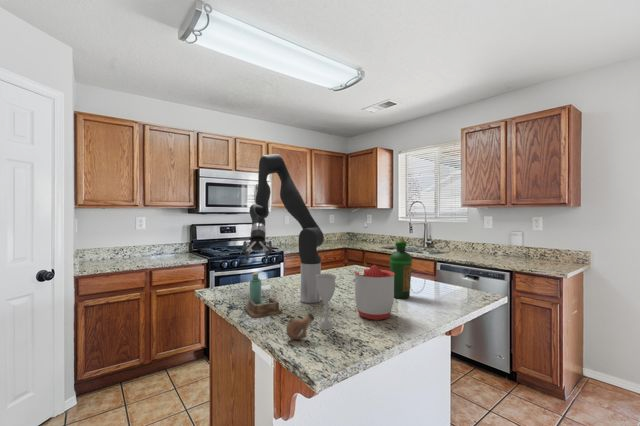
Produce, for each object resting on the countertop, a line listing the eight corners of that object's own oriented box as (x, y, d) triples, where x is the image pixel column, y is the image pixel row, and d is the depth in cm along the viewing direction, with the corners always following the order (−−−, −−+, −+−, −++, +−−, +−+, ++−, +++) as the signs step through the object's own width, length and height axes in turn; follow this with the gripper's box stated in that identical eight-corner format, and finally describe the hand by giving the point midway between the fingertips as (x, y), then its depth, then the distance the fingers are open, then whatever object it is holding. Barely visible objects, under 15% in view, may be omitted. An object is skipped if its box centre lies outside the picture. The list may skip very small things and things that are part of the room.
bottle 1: (262, 300, 143) (262, 272, 143) (259, 304, 138) (259, 274, 138) (251, 300, 143) (252, 271, 143) (248, 303, 138) (248, 273, 138)
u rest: (271, 305, 136) (271, 296, 136) (282, 313, 126) (282, 303, 126) (244, 309, 130) (244, 299, 130) (252, 317, 120) (252, 307, 120)
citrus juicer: (366, 306, 136) (366, 259, 136) (402, 315, 123) (402, 264, 123) (342, 314, 125) (342, 263, 125) (379, 325, 112) (379, 269, 112)
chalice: (338, 324, 113) (338, 274, 113) (333, 331, 107) (333, 278, 107) (319, 322, 115) (319, 273, 115) (312, 328, 109) (313, 276, 109)
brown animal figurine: (312, 335, 103) (313, 311, 103) (315, 340, 99) (315, 315, 99) (285, 338, 101) (285, 313, 101) (287, 343, 97) (287, 317, 97)
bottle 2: (414, 300, 146) (415, 239, 146) (391, 299, 146) (392, 239, 146) (408, 294, 157) (409, 237, 156) (387, 293, 157) (387, 237, 157)
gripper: (243, 228, 159) (241, 254, 147) (272, 228, 161) (271, 254, 150) (244, 238, 164) (242, 264, 153) (272, 238, 166) (271, 263, 155)
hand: (256, 259), depth 151 cm, fingers open, 8 cm apart
